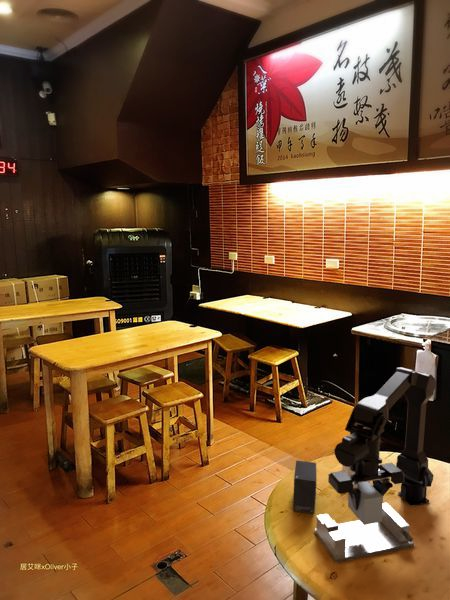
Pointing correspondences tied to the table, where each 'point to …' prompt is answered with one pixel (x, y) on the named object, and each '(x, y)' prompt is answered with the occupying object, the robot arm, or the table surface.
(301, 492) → the small box
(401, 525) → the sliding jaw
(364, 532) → the vise
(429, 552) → the table surface
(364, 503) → the block
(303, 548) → the table surface
